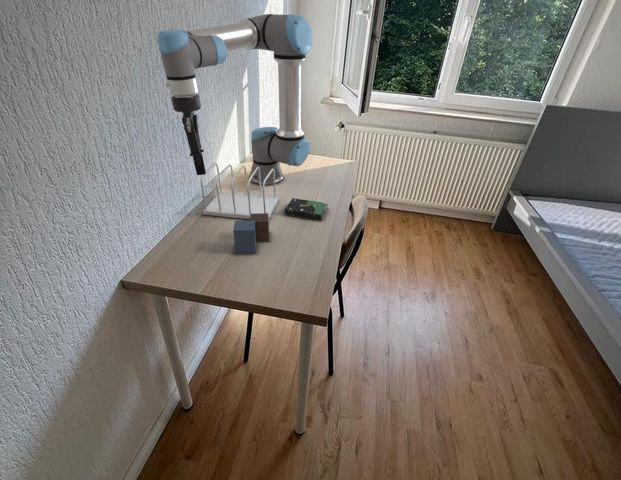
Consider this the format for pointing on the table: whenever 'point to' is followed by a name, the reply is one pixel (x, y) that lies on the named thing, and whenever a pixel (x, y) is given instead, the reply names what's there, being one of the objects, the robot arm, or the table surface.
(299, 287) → the table surface
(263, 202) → the file sorter
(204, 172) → the robot arm
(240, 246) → the slate-blue block
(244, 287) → the table surface
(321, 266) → the table surface
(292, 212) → the disk drive
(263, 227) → the walnut block
